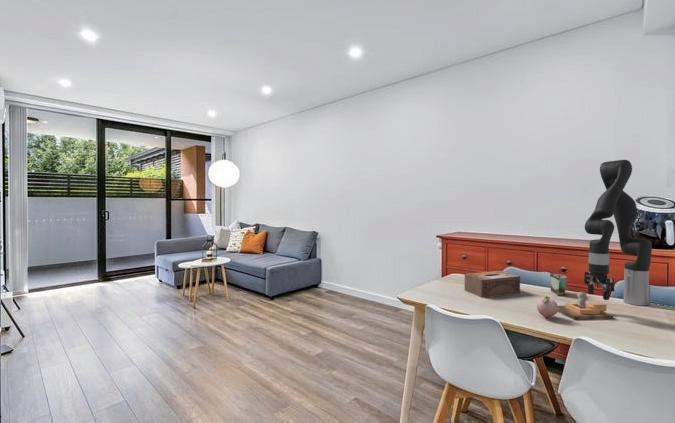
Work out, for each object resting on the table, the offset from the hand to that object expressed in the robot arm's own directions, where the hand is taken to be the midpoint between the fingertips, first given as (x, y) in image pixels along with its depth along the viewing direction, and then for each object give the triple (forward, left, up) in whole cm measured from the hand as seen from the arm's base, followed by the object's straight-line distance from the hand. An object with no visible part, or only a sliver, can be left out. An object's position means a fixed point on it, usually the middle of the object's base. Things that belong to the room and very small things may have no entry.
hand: (598, 296), depth 152 cm
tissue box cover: (+32, -37, -8) cm, 49 cm away
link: (+5, 0, -6) cm, 8 cm away
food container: (-4, -31, -8) cm, 32 cm away
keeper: (+8, 0, -8) cm, 11 cm away
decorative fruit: (+27, +4, -8) cm, 28 cm away
